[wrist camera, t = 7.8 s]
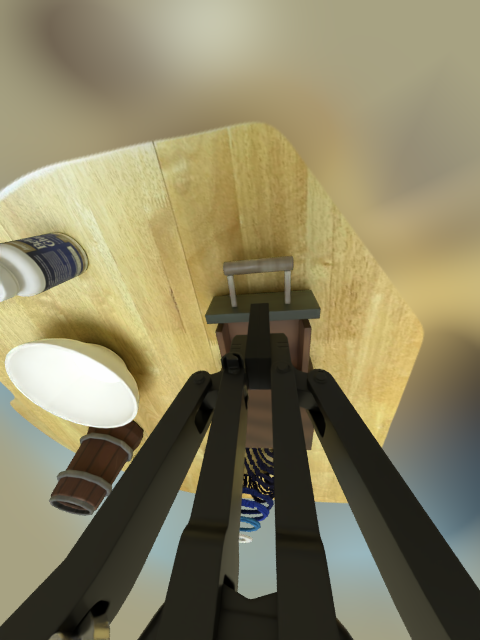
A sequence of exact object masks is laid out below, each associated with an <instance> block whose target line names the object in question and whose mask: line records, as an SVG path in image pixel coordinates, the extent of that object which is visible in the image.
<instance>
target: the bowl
mask: <svg viewBox="0 0 480 640" xmlns="http://www.w3.org/2000/svg"><path fill="white" fill-rule="evenodd" d="M5 367H6V371H7V374H8V376H9V378H10V379H11V381H12V382H13V384H14V385H15V386H16V387H17V388H18V389H19V390H20V391H21V392H22V393H23V394H24V395H25V396H26V397H27V398H28V399H30V400H31V401H32V402H33V403H35V404H37V405H38V406H40V407H41V408H43V409H44V410H46V411H48V412H50V413H52V414H54V415H56V416H58V417H61V418H63V419H65V420H68V421H71V422H74V423H77V424H81V425H85V426H90V427H97V428H114V427H119V426H124V425H126V424H128V423H130V422H131V421H132V420H133V419H134V418H135V416H136V414H137V411H138V407H139V392H138V387H137V383H136V381H135V379H134V378H133V376H132V375H131V373H130V372H129V371H128V369H127V366H126V364H125V363H124V361H123V360H122V359H121V358H120V357H119V356H118V355H117V354H116V353H114V352H113V351H111V350H110V349H108V348H106V347H103V346H101V345H97V344H92V343H84V342H80V341H77V340H72V339H65V338H50V339H40V340H35V341H31V342H27V343H24V344H21V345H19V346H17V347H15V348H13V349H11V350H10V352H9V353H8V354H7V355H6V359H5Z"/></svg>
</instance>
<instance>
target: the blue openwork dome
mask: <svg viewBox="0 0 480 640" xmlns="http://www.w3.org/2000/svg"><path fill="white" fill-rule="evenodd" d="M245 449H246V453H247V454H248V455H247V457H248V459H249V461H250V464H251V465H253V469H255V473H256V475H255V474H254V473H253V472H252V470H250V468H249V464H247V462H246V457H245V459H244V464H245V466H246V469H247V471H248V472H247V473H248V475H247V474H243V480H244V482H243V484H244V485H243V488H242V494H243V493H245V494H246V493H247V494H251V496H252V497H254V498H253V499H254V500H255V501H249V500H245V499H242V502H241V506H245V507H249V508H250V507H251V508H254V507H257V510H245V509H244V510H241V513H242V514H260V513H263V516H260V517H255V518H253V517H252V518H249V517H243V516H241V517H240V522H246V523H250V524H251V525H253V526H254V528H240V531H245V532H246V531H248V532H251V531H256V530H257V529H259V528H260V523H259V522H258V521H262V520H264V519H265V518H266V517H267V516H268V514H269V510H270V509H271V508H272V506H273V505H274V504H273V500H272V499H273V498H274V490H273V489H274V477H272V478H271V477H270V476H269V474H272V475H274V468H273V467H271V466H270V467H268V466H267V464H265V463H263V461H262V459H261V458H260V457H259V455H258V453H257V448H252V449H253V452H254V454H255V456H256V457H255V458H256V459H257V462H256V463H257V465H258V467H260V469H261V470H263V471H267V472H269V473H265V474H263V473H260V470H259V468H257V466H256V465H255V462H254V460H252V455H251V454H250V451H249V448H246V447H245ZM258 451H259V453H260V454H261V456H262V458H263V459H264V460H265V462H266V463H268V464H270V465H272V466H274V465H273V462H271V461H269V460H267V459H266V457H264V455H263V453H262V450H261V448H258ZM264 451H265V453H267V455H268V456H270V457H272V458H273V452H270V451H269V448H264ZM244 476H245V479H244ZM247 476H249V480H248V482H249V485H248V482H247ZM251 476H252V477H251ZM256 476H257V477H256ZM259 476H260V478H259ZM262 477H263V478H264V481H265V482H263V480H262ZM251 478H252V479H251ZM260 479H261V480H260ZM255 481H257V482H258V485H257V482H255ZM251 484H252V485H253V487H252V485H251ZM254 484H255V485H254ZM247 485H248V488H247ZM260 485H262V486H263V488H264V489H265V490H266V491H269V490H270V492H266V491H264V490H263V489H262V488H260ZM250 486H251V488H250ZM258 487H259V488H260V490H261V492H260V490H259V489H258ZM268 487H269V489H268ZM262 493H264V494H262ZM272 493H273V494H272ZM265 494H266V495H265ZM267 494H270V495H267ZM257 497H259V498H261V499H263V500H261V499H259V498H257ZM265 502H267V504H269V506H268V507H265V506H264V505H262V504H260V503H265ZM239 538H244V539H239V542H241V543H244V542H245V543H247V542H251V541H252V538H251V537H249V536H246V535H242V534H239Z"/></svg>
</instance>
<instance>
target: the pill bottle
mask: <svg viewBox="0 0 480 640" xmlns="http://www.w3.org/2000/svg"><path fill="white" fill-rule="evenodd" d="M87 266H88V260H87V256H86V254H85V252H84V250H83V249H82V248H81V246H80V245H79V244H78V243H77V242H76V241H75V240H74V239H72V238H71V237H69V236H67V235H64V234H61V233H50V234H45V235H40V236H35V237H30V238H25V239H20V240H15V241H10V242H5V243H0V302H2V301H4V300H7V299H9V298H12V297H14V296H16V295H19V296H34V295H37V294H39V293H41V292H44V291H46V290H48V289H50V288H52V287H54V286H57V285H59V284H61V283H63V282H65V281H68V280H70V279H72V278H74V277H76V276H78V275H80V274H82V273H83V272H85V270H86V269H87Z"/></svg>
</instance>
